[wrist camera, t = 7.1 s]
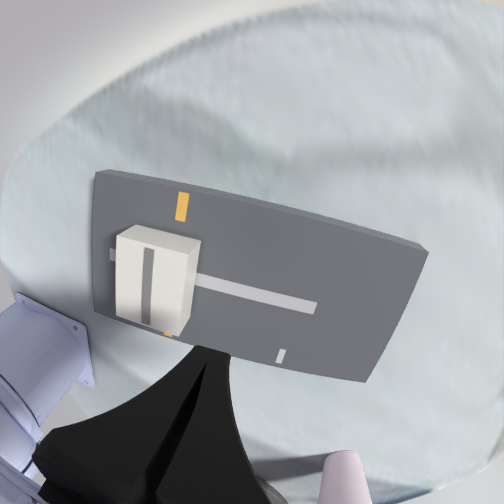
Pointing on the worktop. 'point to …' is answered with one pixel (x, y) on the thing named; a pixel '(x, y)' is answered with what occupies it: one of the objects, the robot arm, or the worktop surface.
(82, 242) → the worktop surface
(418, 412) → the worktop surface
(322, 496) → the smoothie
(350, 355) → the console
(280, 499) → the flask
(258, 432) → the worktop surface
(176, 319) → the fader knob
